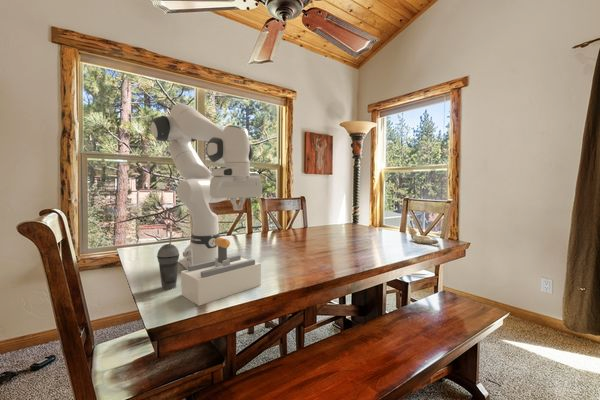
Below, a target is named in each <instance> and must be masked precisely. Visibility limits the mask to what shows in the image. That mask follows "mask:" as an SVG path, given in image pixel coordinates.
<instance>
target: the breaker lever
mask: <svg viewBox="0 0 600 400" xmlns="http://www.w3.org/2000/svg"><path fill="white" fill-rule="evenodd" d="M215 245H216V246H218V262H219V263H222V261H223V260H227V257H228V250H227V249H228V248H229V247H230V245H231V241H230V240H229V239H228V238H223V237H221V236H220V237H218V238H216V239H215Z"/></svg>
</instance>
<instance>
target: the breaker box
mask: <svg viewBox="0 0 600 400" xmlns="http://www.w3.org/2000/svg"><path fill="white" fill-rule="evenodd" d="M247 260H249V259H248V258H244V257H241V260H237V261H233V262H230V260H229V259H227V260H223V261H222V263H219V262H218V258H215V266H212V267H207V268H203V269H199V270H194V271H188V269H186V270H181V271H180V281H181V282H180V285H181V287H180V288H181V289H180V292H181V293H180V294H181V296H183V297H184V298H186V299H187V300H189V301H191V302H192V303H194V304H195V305H197V306H199V307H200V306H202V305H206V304H208V303H212V302H214V301H218V300H220V299H223V298H226V297H230V296H232V295H236V294H238V293H241V292H245V291H247V290H251V289H253V288H257V287H259V286H261V285H262V269H261V268H262V266H261V265H262V263H260V262H257V261H255V265H251V266H247V267H243V268H239V269H236V270H232V271H228V272H224V273H220V274H216V275H212V276H209V277H205V278H202V277H201V271H206V270H210V269H214V268H218V267H222V266H226V265H230V264H235V263H239V262H243V261H247Z"/></svg>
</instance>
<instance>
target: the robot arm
mask: <svg viewBox="0 0 600 400" xmlns="http://www.w3.org/2000/svg"><path fill="white" fill-rule="evenodd" d="M150 131H151V133H152V135H153V137H154V138H155V139H156V140H157V141H160V142H167V141H170V142H169V144H168V151H169V154H170V158H171V159H172V162H173V163H174V165H175V168H176V169H177V171H178V172H179V174H180V176H181V177H182V178H183V179H184V180H181V181H180V182H179V183H178V184H177V187H176V196H177V199H178V200H179V201H180V202H181V203H183V204H184V205H185V206H186V207H187V209H188V210H189V213H190V216H191V223H192V234H191V235H190V236H191V237H190V243H189V244H188V246H186V247H185V248H184V251H183V252H182V257H183V258H180V259H178V263H179V264H180V265H182V267H183V268H185V269H186V270H188V266H189V265H194V264H198V263H203V262H207V261H212V260H215V258H218V246H216V245H215V239H216V238H218V237H220V238H221V236H220V235H221V234H220V232H219V231H220V229H219V216H218V215H217V213H215V212H213V211H212V210H211V208H210V207H211V206H210V204H212V203H219V202H223V201H226V200H227V199H229V201H230V203H231V204H232V209H233V211H243V209H244V208H243V207H244V204H245V202H246V198H252V197H253V198H255V197H261V196H262V195H263V186H262V177H261V175H260V174H259V173H258V172H257V171H251V163H250V161H251V160H252V159H253V155H254V149H253V147H252V145H251V143H250V135H249V133H248V129H247V128H245V127H243V126H238V125H232V124H231V125H226V126H225V127H224V128H222V127H220V126H219V125H217V124H216V123H215V122H213V121H211V120H210V119H208V118H207V117H205V115H203V114H202V113H201V112H199V111H198V110H197V109H195V108H194V107H193V106H191V105H188V104H186V103H177V104H175V105H173V106H172V108H171V110H170V115H161V116H158V117H155V118H153V119H152V120H151V122H150ZM197 140H198V141H205V142H207V143H206V148H205V152H206V155H207V158H208V159H209V160H210V162H213V163H215V164H224V166H221V167H218V168H215V169H212V170H210V169H209V168H208V167H207V166H206V165H205V164H204V162H203V161H202V160H201V158H200V156H199V154H198V153H197V151H196V150H195V149H194V147H193V145H192V142H197ZM237 198H238V201H239V202H238V204H237V202H236V201H237Z"/></svg>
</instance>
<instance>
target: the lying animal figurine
mask: <svg viewBox="0 0 600 400" xmlns="http://www.w3.org/2000/svg"><path fill="white" fill-rule="evenodd" d="M407 231H408V234H409V235H410V237H411V240H412V241H414V242H415V243H416V244H426V245H437V244H438V243H439V241H438V240H437V239H436V240H435V239H431V237H429V236H425V235H417V233H418V232H417V231H416V230H415V229H414V228H413V227H411V226H410V225H409V224H408V225H407Z"/></svg>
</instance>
